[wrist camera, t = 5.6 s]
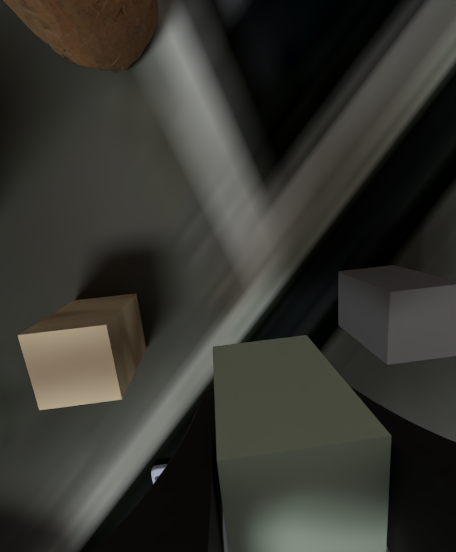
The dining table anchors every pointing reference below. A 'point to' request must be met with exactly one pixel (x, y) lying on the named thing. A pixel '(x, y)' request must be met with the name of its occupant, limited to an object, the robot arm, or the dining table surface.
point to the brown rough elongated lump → (92, 29)
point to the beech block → (84, 351)
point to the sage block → (297, 452)
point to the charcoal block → (398, 312)
